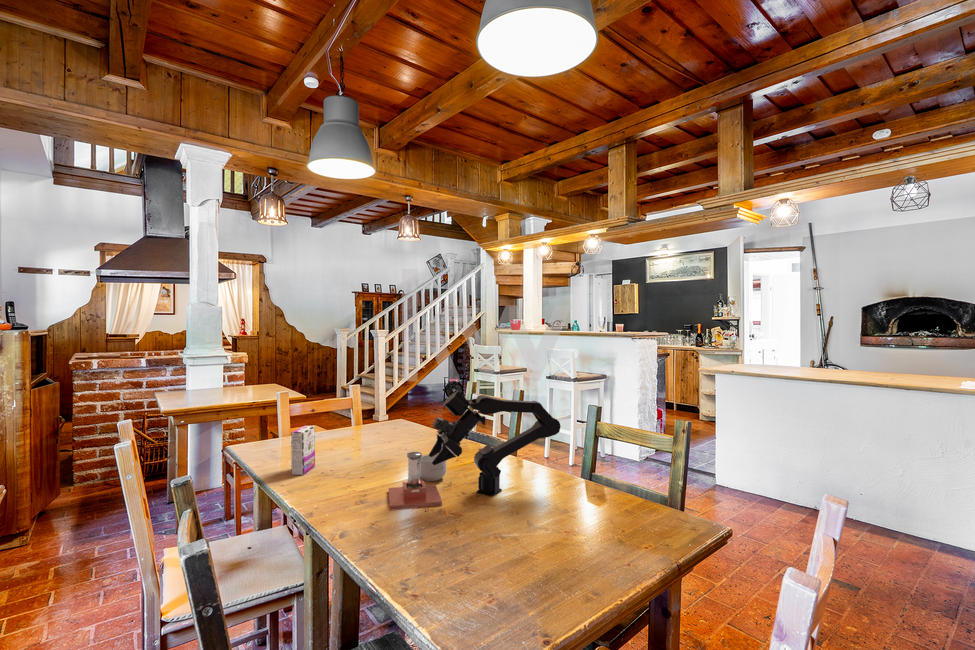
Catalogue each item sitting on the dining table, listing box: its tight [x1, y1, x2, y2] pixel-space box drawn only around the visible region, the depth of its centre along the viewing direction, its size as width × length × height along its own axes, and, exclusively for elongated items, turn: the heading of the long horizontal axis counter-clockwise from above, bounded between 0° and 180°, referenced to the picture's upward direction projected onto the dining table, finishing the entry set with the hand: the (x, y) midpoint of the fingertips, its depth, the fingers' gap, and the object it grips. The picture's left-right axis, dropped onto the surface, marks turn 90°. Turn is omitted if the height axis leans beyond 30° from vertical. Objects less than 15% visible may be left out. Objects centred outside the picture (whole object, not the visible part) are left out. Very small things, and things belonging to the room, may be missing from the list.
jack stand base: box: [388, 480, 443, 511], centre depth 148 cm, size 16×16×4 cm
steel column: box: [406, 451, 423, 488], centre depth 149 cm, size 5×5×13 cm
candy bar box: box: [290, 425, 316, 476], centre depth 176 cm, size 11×5×16 cm, turn 179°
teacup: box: [421, 454, 447, 482], centre depth 169 cm, size 14×11×8 cm
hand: (431, 460), depth 150 cm, fingers open, 9 cm apart
